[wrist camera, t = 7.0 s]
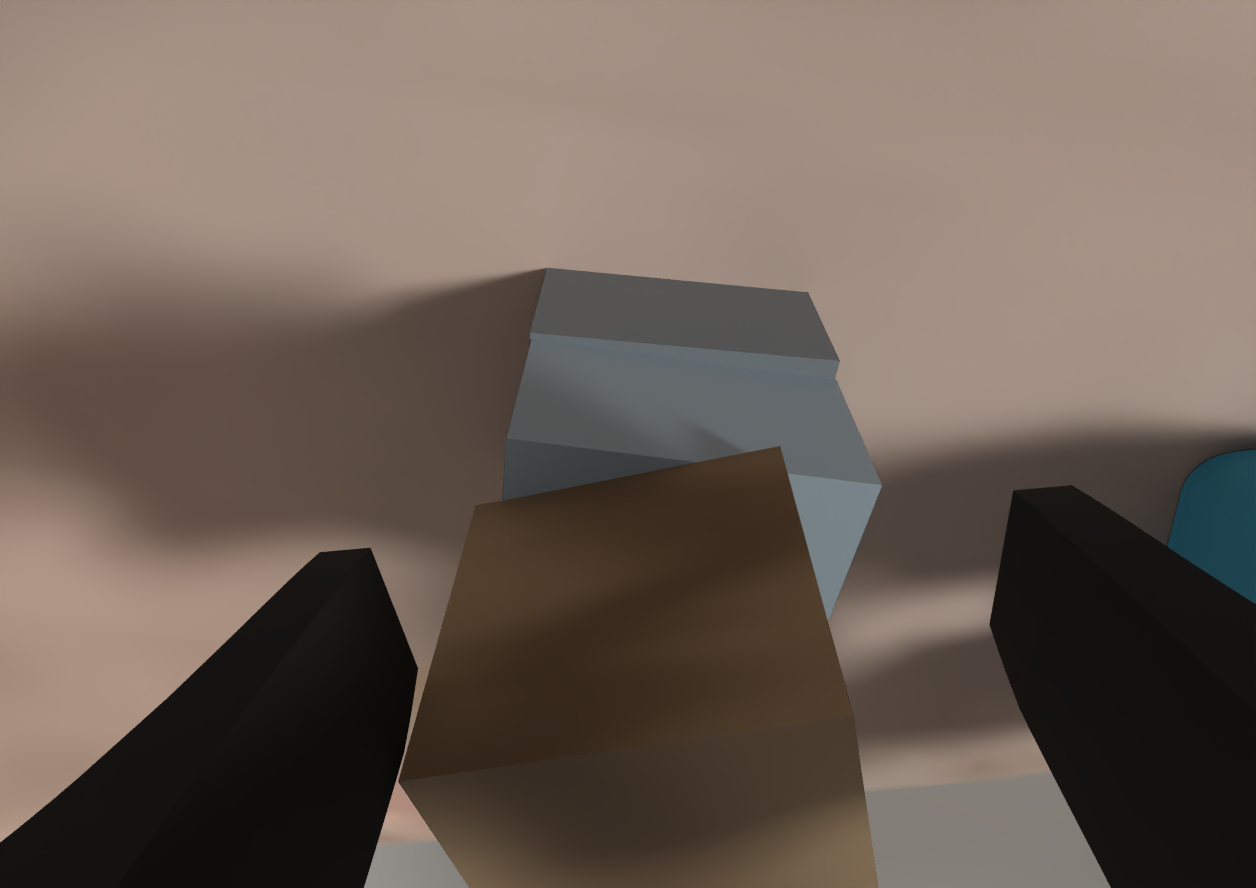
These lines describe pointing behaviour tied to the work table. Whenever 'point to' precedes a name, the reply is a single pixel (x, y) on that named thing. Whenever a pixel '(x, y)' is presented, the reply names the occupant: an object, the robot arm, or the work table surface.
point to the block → (1220, 520)
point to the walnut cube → (642, 693)
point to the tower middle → (692, 435)
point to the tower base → (685, 321)
